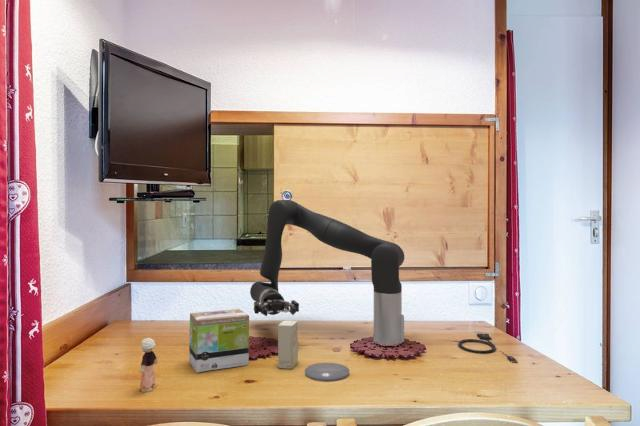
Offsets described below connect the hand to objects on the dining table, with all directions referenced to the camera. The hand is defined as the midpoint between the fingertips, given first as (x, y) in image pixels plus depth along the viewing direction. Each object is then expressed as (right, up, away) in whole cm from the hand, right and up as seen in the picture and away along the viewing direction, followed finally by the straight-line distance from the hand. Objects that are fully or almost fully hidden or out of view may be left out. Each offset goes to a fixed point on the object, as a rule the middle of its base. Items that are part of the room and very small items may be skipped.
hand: (280, 312), depth 142 cm
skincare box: (+3, -13, -11) cm, 17 cm away
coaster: (+14, -13, -17) cm, 26 cm away
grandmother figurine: (-30, -13, -28) cm, 43 cm away
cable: (+64, -13, +6) cm, 66 cm away
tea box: (-17, -13, -10) cm, 23 cm away
